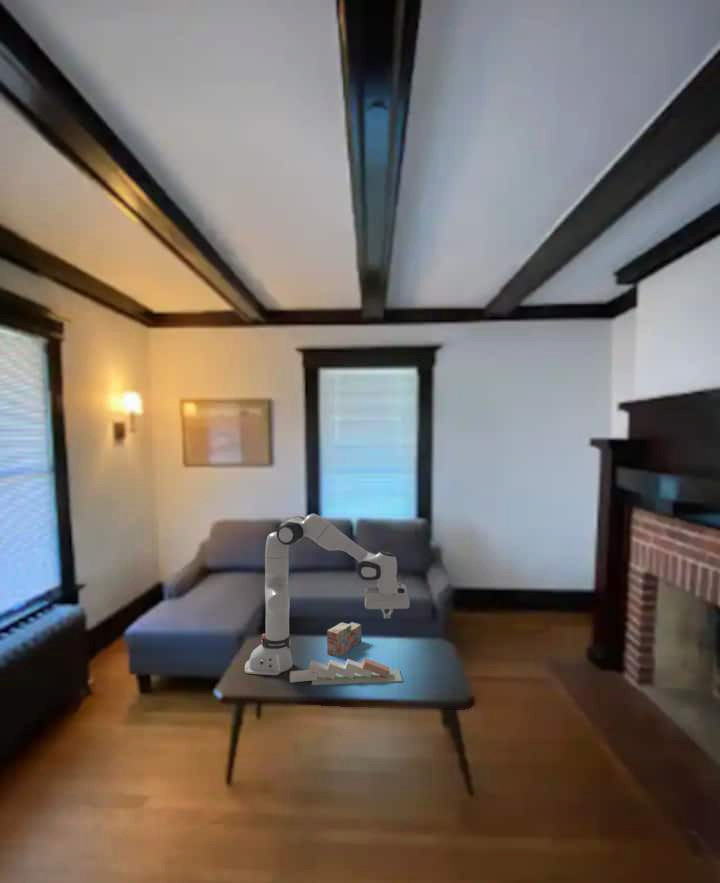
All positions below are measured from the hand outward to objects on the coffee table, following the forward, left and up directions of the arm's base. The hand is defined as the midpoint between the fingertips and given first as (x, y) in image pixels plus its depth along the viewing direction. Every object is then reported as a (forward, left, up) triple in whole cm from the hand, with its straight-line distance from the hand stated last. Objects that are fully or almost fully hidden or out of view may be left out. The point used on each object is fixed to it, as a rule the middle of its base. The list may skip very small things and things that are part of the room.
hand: (387, 618), depth 216 cm
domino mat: (-14, 0, -27) cm, 30 cm away
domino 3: (-15, 0, -25) cm, 29 cm away
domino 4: (-7, 0, -25) cm, 26 cm away
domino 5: (0, 0, -25) cm, 25 cm away
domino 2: (-24, 0, -25) cm, 34 cm away
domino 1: (-32, 0, -25) cm, 40 cm away
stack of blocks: (-18, +31, -27) cm, 45 cm away
